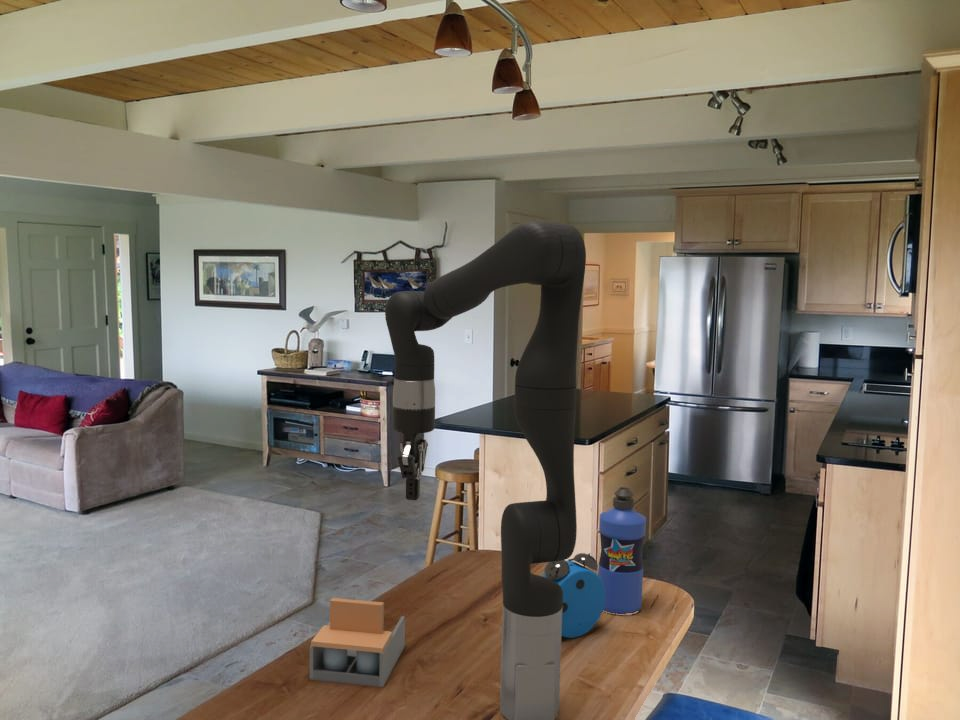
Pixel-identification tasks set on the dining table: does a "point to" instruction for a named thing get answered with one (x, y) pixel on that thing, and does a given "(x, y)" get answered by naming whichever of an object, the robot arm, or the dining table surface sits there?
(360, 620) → the lid
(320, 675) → the housing
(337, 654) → the grey rounded cylinder
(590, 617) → the alarm clock
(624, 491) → the water bottle
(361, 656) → the blue-grey rounded cylinder
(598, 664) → the dining table surface
